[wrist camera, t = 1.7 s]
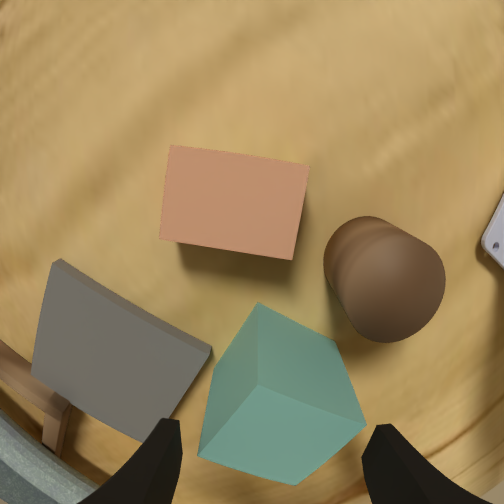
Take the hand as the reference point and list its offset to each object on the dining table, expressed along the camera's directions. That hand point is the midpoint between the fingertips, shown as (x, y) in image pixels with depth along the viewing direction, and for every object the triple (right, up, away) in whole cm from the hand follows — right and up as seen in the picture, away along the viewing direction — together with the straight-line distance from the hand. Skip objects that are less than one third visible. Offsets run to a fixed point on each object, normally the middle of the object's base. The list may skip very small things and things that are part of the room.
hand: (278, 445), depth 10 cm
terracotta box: (-2, +9, +4) cm, 10 cm away
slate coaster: (-9, +1, +6) cm, 11 cm away
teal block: (0, +2, +6) cm, 6 cm away
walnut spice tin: (+4, +7, +4) cm, 9 cm away
